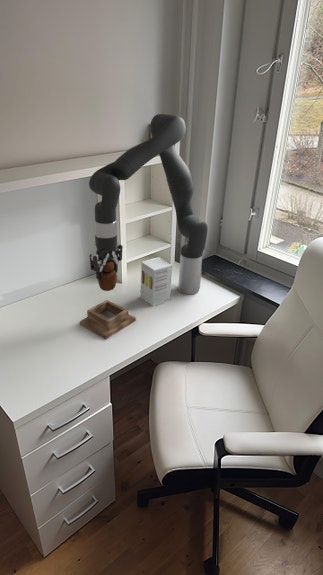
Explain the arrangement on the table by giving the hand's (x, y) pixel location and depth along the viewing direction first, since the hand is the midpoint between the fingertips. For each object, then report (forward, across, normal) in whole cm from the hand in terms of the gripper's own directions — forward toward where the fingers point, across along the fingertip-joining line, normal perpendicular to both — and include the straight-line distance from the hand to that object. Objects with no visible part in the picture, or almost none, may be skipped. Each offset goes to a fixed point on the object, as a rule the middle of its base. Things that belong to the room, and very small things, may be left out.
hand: (107, 276), depth 147 cm
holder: (+20, 0, 0) cm, 20 cm away
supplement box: (+20, -26, +2) cm, 33 cm away
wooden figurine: (+5, 0, 0) cm, 5 cm away
